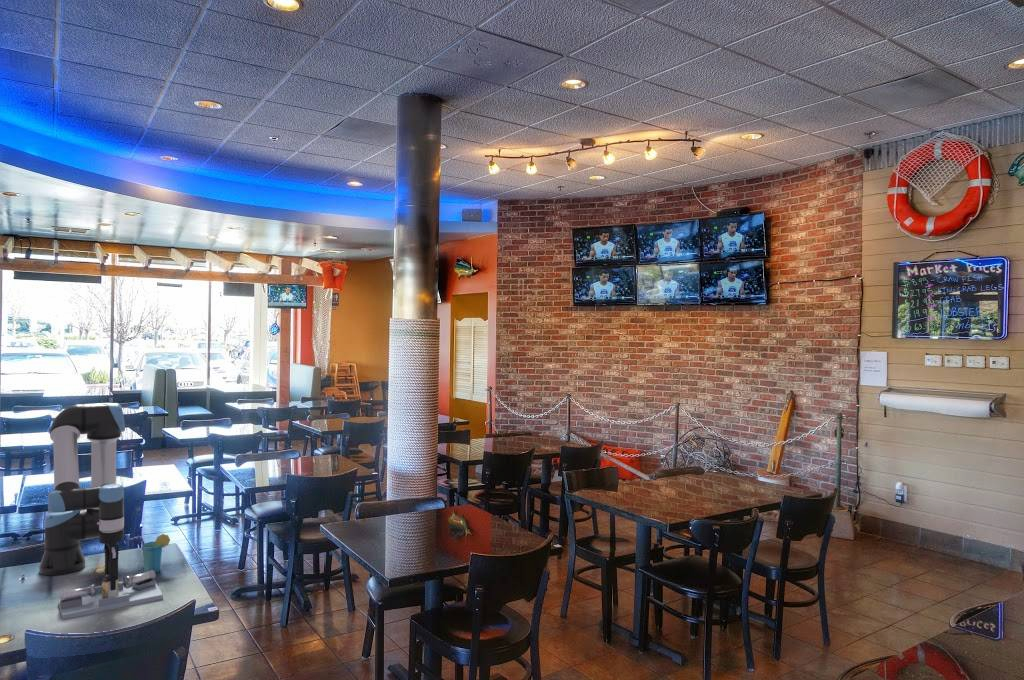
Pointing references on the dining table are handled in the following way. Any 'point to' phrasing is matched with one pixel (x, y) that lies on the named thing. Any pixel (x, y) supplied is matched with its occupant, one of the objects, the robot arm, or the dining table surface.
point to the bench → (107, 601)
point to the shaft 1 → (78, 593)
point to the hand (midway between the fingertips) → (111, 595)
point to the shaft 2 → (140, 581)
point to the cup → (153, 552)
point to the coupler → (105, 587)
